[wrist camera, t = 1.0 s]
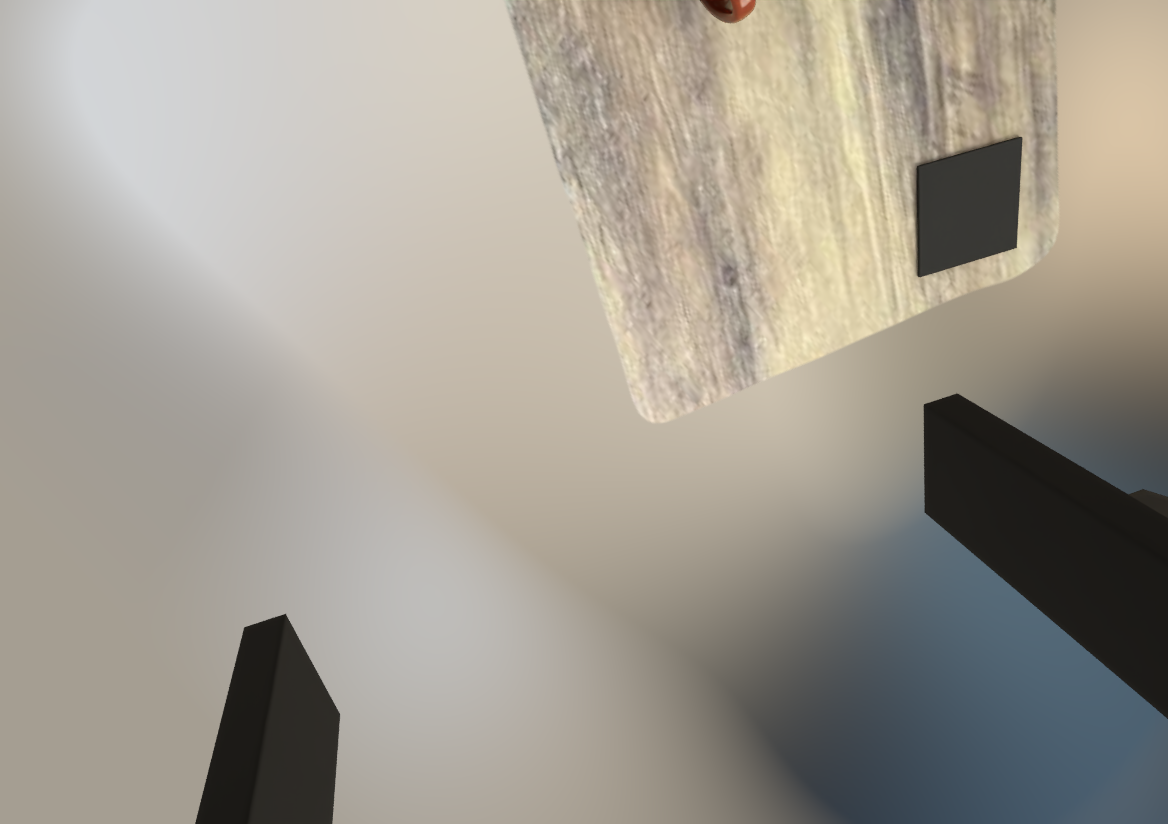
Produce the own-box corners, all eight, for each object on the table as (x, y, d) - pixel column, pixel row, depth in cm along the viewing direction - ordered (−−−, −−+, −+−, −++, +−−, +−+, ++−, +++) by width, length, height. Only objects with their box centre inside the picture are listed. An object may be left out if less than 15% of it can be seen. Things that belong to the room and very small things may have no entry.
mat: (916, 166, 65) (919, 166, 64) (1020, 136, 66) (1022, 136, 65) (917, 276, 69) (919, 277, 69) (1014, 247, 70) (1016, 247, 70)
